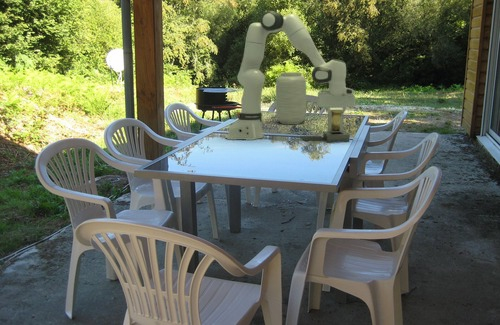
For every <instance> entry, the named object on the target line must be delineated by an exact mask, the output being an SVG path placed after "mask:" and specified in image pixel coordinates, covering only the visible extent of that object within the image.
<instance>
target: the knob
mask: <svg viewBox="0 0 500 325" xmlns="http://www.w3.org/2000/svg"><path fill="white" fill-rule="evenodd" d="M331 113H332V119H331V131H340V117H341V113H342V110H331Z"/></svg>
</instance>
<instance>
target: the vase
mask: <svg viewBox="0 0 500 325" xmlns="http://www.w3.org/2000/svg"><path fill="white" fill-rule="evenodd" d="M306 113H307V79H306V78H305V77H304V76H303V75H302V72H295V71H294V72H291V71H290V72H281V73H280V76H278V77H277V78H276V81H275V115H276V119H277V120H278V121H279V122H280V124H281V123H282V125H289V124H293V125H301V124H302V122H303V121H304V120H305V119H306V116H307V114H306Z"/></svg>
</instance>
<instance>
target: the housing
mask: <svg viewBox="0 0 500 325" xmlns="http://www.w3.org/2000/svg"><path fill="white" fill-rule="evenodd" d="M322 133H323V134H322V137H323V138H324V139H325V140H324V141H325V142H326V143H350V134H349V133H348V132H346V131H345V130H343V131H328V130H327V131H325V130H324V131H323V132H322Z"/></svg>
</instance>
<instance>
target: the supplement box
mask: <svg viewBox="0 0 500 325" xmlns="http://www.w3.org/2000/svg"><path fill="white" fill-rule="evenodd" d="M331 110H342V111H343V109H342V108H340V107H330V110H329V111H330V112H331ZM331 119H332V116H329V112H328V111H327V131H331ZM340 131H344V115H343V116H341V117H340Z"/></svg>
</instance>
